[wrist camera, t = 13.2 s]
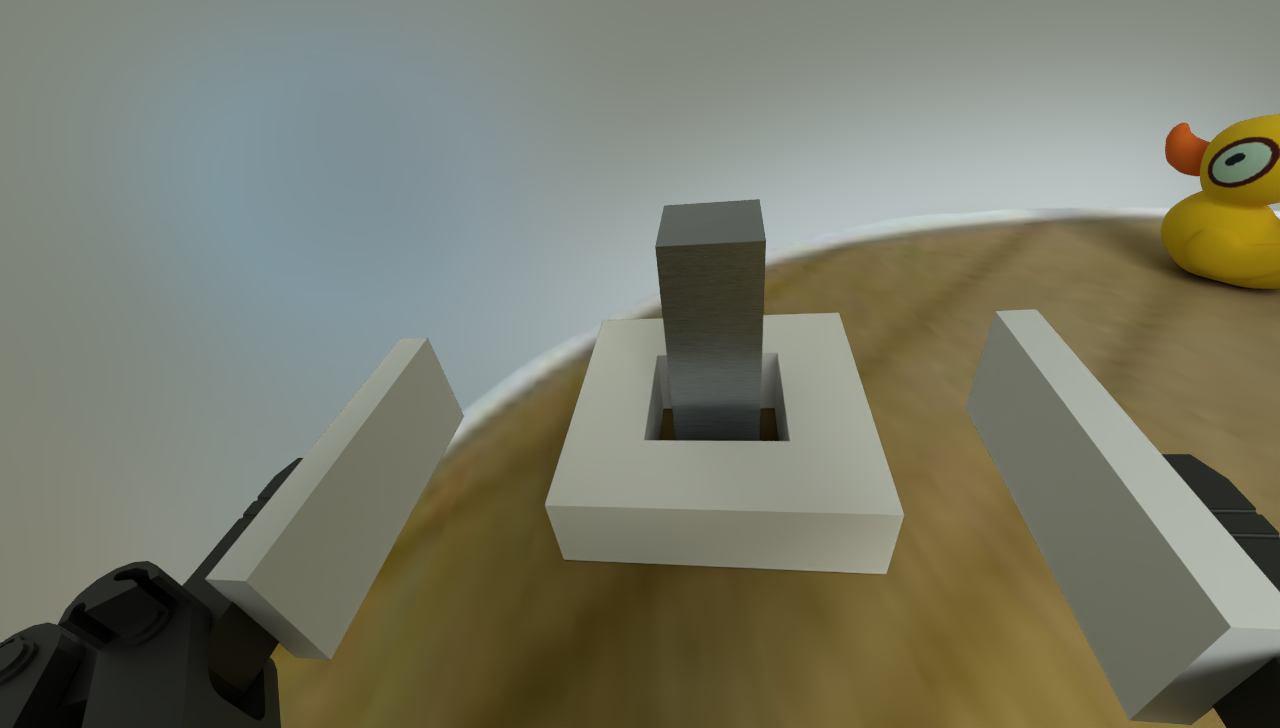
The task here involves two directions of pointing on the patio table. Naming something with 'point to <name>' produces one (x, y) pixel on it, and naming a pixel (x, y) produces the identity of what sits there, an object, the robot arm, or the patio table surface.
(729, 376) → the tall dark grey pillar
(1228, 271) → the duckling
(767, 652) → the patio table surface
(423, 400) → the robot arm
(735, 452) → the well block
